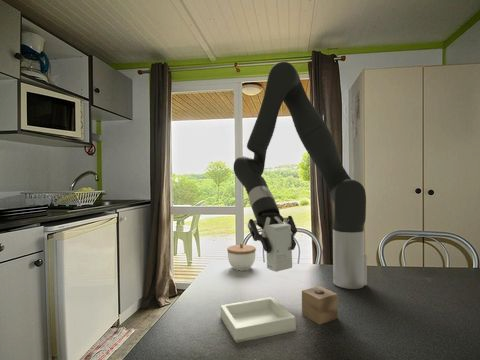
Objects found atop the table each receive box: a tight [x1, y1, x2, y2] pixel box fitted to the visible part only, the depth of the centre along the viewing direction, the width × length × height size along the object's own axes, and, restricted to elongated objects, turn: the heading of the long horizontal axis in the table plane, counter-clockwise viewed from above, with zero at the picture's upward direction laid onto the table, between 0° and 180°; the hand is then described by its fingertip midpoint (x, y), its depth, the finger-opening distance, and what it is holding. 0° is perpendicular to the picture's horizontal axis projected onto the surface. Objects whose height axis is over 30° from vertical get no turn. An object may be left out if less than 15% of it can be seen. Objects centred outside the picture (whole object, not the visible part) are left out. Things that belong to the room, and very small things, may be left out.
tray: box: [219, 296, 297, 344], centre depth 69 cm, size 14×12×3 cm
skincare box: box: [266, 223, 293, 273], centre depth 82 cm, size 6×4×12 cm
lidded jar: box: [226, 242, 257, 272], centre depth 111 cm, size 11×11×9 cm
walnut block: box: [301, 285, 339, 325], centre depth 72 cm, size 6×6×6 cm
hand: (281, 249), depth 81 cm, fingers closed on skincare box, 6 cm apart
